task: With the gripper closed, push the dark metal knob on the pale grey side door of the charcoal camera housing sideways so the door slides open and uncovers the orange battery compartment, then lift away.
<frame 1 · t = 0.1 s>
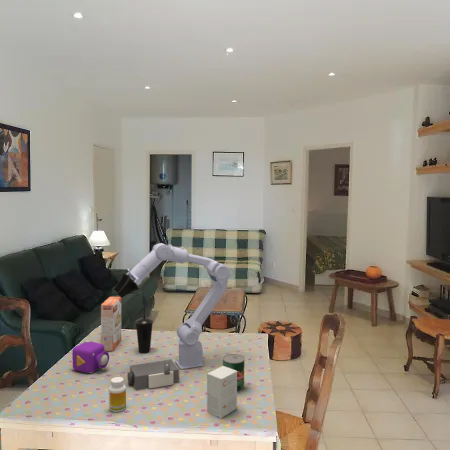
hand: (117, 293, 163), 32 cm above the table, tool tilted 50°, fingers open, 7 cm apart
toy camera: (92, 369, 172), on the table
camera housing: (154, 380, 162), on the table
canned tomato: (233, 388, 158), on the table
cracker box: (111, 346, 196), on the table
supplement bottle: (117, 408, 142), on the table
small box: (221, 410, 142), on the table
side door: (161, 375, 156), point 4 cm above the table, slide at 0.0 cm
drinking cup: (144, 351, 190), on the table
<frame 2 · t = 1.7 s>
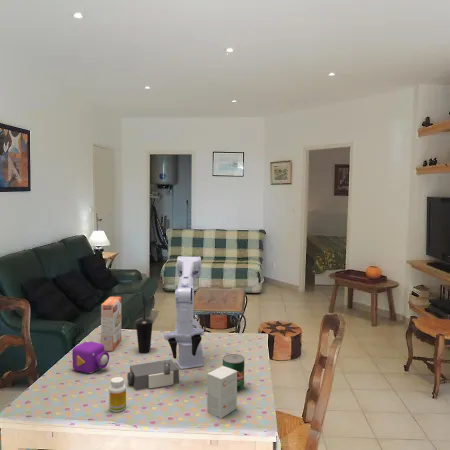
hand: (184, 356, 159), 10 cm above the table, tool pointing down, fingers open, 7 cm apart
nothing on the table moved.
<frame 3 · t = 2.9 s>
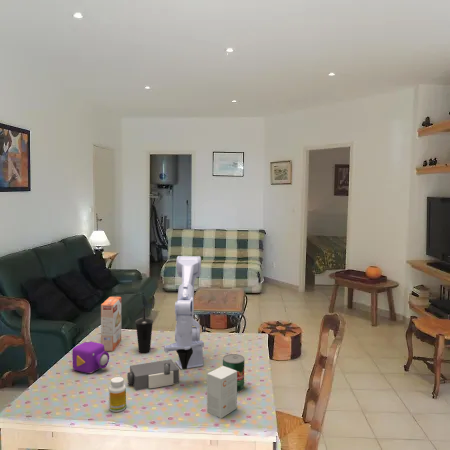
hand: (184, 368, 160), 6 cm above the table, tool pointing down, fingers closed
nothing on the table moved.
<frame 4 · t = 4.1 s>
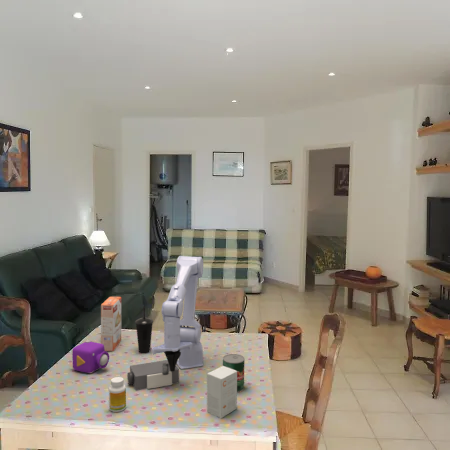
hand: (172, 370, 158), 6 cm above the table, tool pointing down, fingers closed
side door: (160, 376, 156), point 4 cm above the table, slide at 0.6 cm, touching gripper
everything else where it was.
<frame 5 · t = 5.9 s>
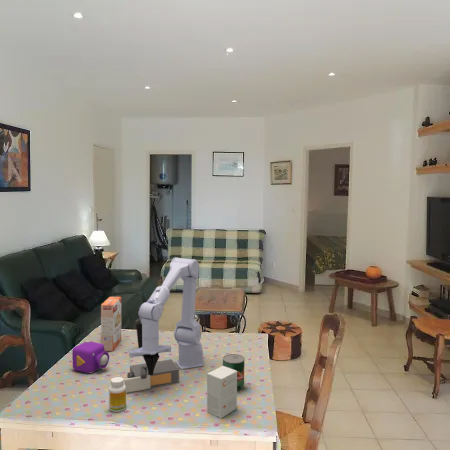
hand: (150, 373, 155), 6 cm above the table, tool pointing down, fingers closed
side door: (138, 379, 153), point 4 cm above the table, slide at 8.5 cm, touching gripper
everything else where it was.
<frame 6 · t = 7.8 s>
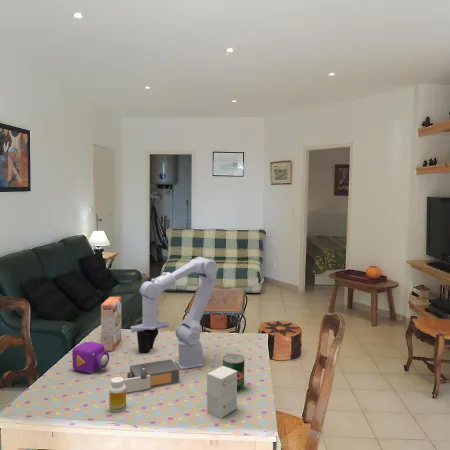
hand: (150, 348, 167), 10 cm above the table, tool pointing down, fingers closed
side door: (138, 379, 153), point 4 cm above the table, slide at 8.5 cm
everything else where it was.
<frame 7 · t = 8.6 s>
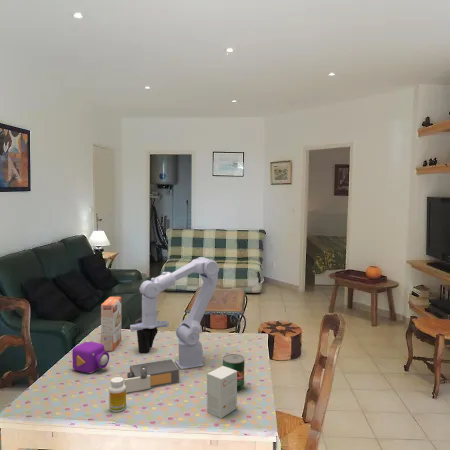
hand: (149, 346, 168), 10 cm above the table, tool pointing down, fingers closed
nothing on the table moved.
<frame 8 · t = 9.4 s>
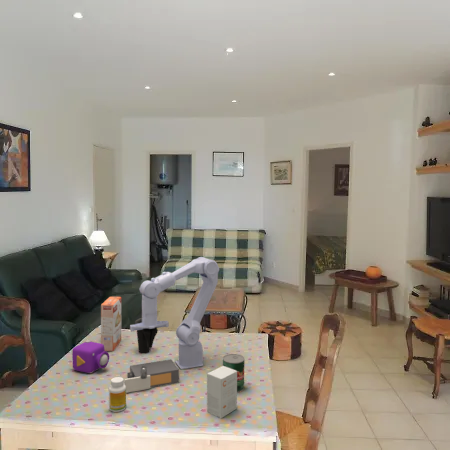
hand: (149, 346, 168), 10 cm above the table, tool pointing down, fingers closed
nothing on the table moved.
at the end: side door slide at 8.5 cm; toy camera moved 0.3 cm from its start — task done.
